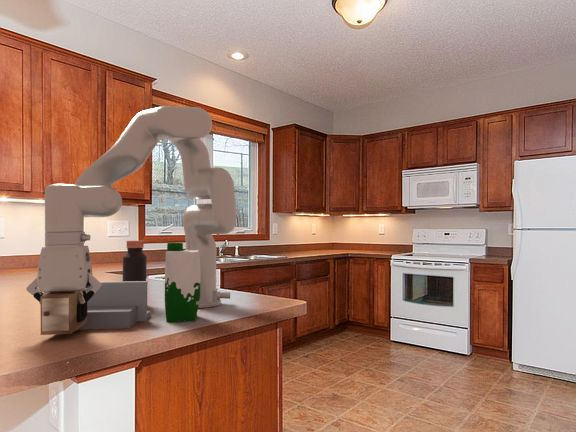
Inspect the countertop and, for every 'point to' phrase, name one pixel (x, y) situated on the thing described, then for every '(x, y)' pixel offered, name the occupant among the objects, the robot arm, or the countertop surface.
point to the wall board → (117, 305)
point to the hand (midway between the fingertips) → (65, 320)
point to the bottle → (134, 262)
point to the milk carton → (181, 283)
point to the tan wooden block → (59, 313)
